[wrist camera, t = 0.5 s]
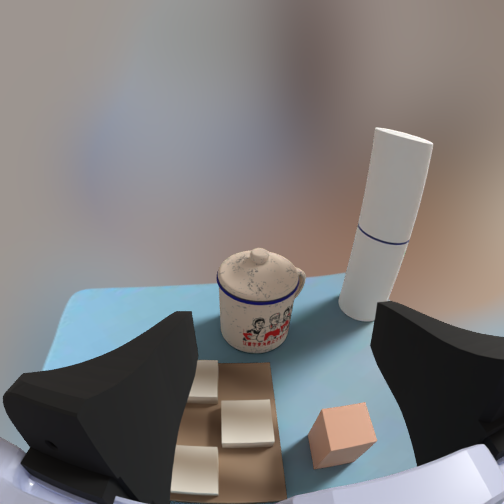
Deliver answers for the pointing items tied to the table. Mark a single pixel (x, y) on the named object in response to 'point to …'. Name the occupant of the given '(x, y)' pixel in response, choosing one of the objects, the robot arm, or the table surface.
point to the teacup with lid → (257, 299)
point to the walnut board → (237, 463)
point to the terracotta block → (340, 435)
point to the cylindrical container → (385, 220)
